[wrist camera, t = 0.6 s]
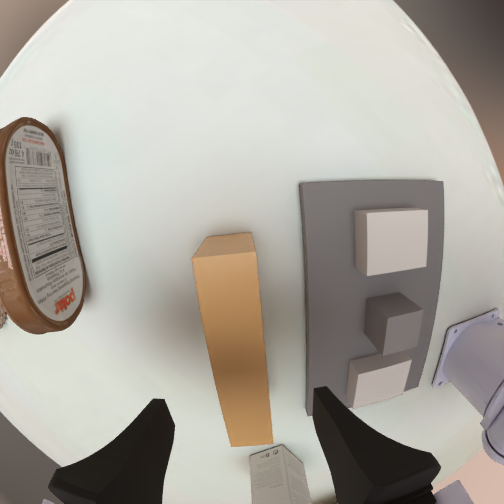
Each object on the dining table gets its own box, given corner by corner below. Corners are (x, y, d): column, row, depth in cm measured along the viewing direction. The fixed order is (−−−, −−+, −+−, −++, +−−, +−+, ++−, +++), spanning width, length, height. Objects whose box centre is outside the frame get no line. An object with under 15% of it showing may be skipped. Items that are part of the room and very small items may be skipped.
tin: (42, 135, 16) (-28, 124, 8) (69, 121, 16) (-2, 100, 8) (75, 307, 19) (17, 356, 11) (103, 303, 19) (46, 358, 11)
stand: (435, 181, 18) (472, 182, 14) (413, 381, 23) (433, 406, 18) (298, 183, 18) (316, 181, 14) (305, 409, 22) (315, 443, 18)
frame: (251, 232, 19) (255, 251, 13) (266, 392, 22) (273, 443, 16) (207, 236, 18) (191, 258, 13) (232, 395, 22) (231, 446, 16)
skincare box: (248, 455, 24) (252, 544, 12) (282, 443, 24) (297, 536, 12) (273, 474, 25) (282, 551, 13) (304, 463, 25) (321, 542, 13)
